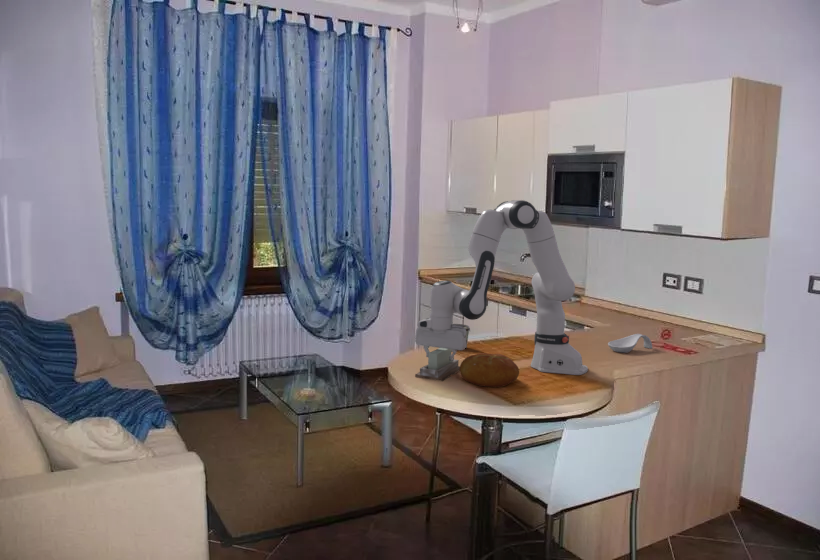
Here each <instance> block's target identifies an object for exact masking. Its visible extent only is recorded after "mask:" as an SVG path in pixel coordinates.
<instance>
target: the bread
mask: <svg viewBox="0 0 820 560" xmlns="http://www.w3.org/2000/svg"><path fill="white" fill-rule="evenodd" d="M459 366H460V371H459V373H460V376H461V378H462V379H463V380H465V381H466V382H468V383H470V384H473V385H477V386H480V387H489V388H491V387H493V388H495V387H496V388H499V387H505V386H508V385H509V384H510V383H513V382H515V381H516V380H517V379H518V377H519V376H520V369H519V366H518V365H517V364H516V362H514V361H513V359H511V358H509V357H508V356H506V355H503V354H501V353H487V352H486V353H482V352H481V353H476V354H473V355H470V356H467V357H466V358H464V359H463V360H462V361H461V363H460V365H459Z"/></svg>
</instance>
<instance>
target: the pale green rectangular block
mask: <svg viewBox="0 0 820 560" xmlns="http://www.w3.org/2000/svg"><path fill="white" fill-rule="evenodd" d="M429 352H430V353H429V354H428V357H427V358H428V361H427V363H428V364H427V365H428V369H433V370H437V369H439V368H441V367H443V366H445V365H447V364H449V363H450V362H451V361H450V360H449V356H450V355H452V353H453V352H452V349H446V348H438V347H437V348H436V349H434V350H431V351H429Z"/></svg>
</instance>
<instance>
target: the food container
mask: <svg viewBox="0 0 820 560" xmlns="http://www.w3.org/2000/svg"><path fill="white" fill-rule="evenodd" d="M453 325H458V326H463V327H464V328H465V329H466V349H467V347H468V339H469V333H470V332H471V328H470V326H469V325H467V324H463V323H462V324H461V323H453ZM464 328H463V329H464Z"/></svg>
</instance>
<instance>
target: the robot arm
mask: <svg viewBox="0 0 820 560" xmlns="http://www.w3.org/2000/svg"><path fill="white" fill-rule="evenodd" d="M506 229H510V230H517V229H521V230H522V231H523V232H524V235H525V239H526V242H527V247H528V250H529V254H530V259H531V262H532V263H533V265H534V266H535V268H536V270H537V272H535V273H534V275H533V276H532V278H531V287H532V289H533V293H534V299H535V307H536V330H535V332H534V341H533V342H534V351H533V357H532V359H531V362H530V367H531V368H533V369H536V370H538V371H539V372H541V373H551V374H561V375H562V374H563V375H564V374H565V375H573V376H574V375H575V376H580V375H584V374H586V373H587V372H588V371H589V370H588V369H589V367H588V366H587V365H583V359H582V358H583V357H582V354H581V353H580V352H579V351H578V350H577V349H575V347H574V346H572V345H571V344H570V343H569V342H570V334H566V333H565V323H566V313H565V310H564V307H563V304H562V301H568V300H570V299H571V298H572V297H573V296H574V295H575V292H576V285H575V282H574V280H573V279H572V278H571V276H570V275H569V272H568V270H567V268H566V265H565V263H564V261H563V259H562V257H561V254H560V249H559V246H558V241H557V239H556V234H555V231H554V228H553V224H552V222H551V220H550V218H549V216H548V214H547V213H546V212H544V211H543V210H537V209H536V208H535V206H534V205H533V204H532V203H531V202H529V201H527V200H524V199H523V200H522V199H521V200H519V199H516V200H515V199H513V200H507V201H506V200H505V201H503V202H500V203H499V204H498V205H497V206H496V207H495V208H494V209H485V210H484V211H482V212H481V213H480V216H479V217H478V219H477V220H476V223H475V224H474V227H473V229H472V232H471V235H470V238H469V240H468V241H469V242H468V247H467V248H468V249H467V250H468V252H469V255H470V256H471V258H472V259H473V261H474V264H475V271H474V274H473V279H472V283H471V285H470V289H469V290H468V289H466V288H462V287H460V286H458V285H457V284H455V283H453V282H452V281H451V280H440V281H436V282H435V283H433V284H432V287H431V289H430V290H431V291H430V299H429V300H430V301H429V306H430V312H429V317H427V318H424V319H421V320H419V321H418V322H417V328H416V330H415V337H414V338H415V339H414V342H415V344H416V345H418V346H423V350H424V351H425V355H426V356H425V357H426V358H428V354H429V353H430V352H431V351H430V349H429V348H430V347H431V348H437V349H438V348H446V349H452V353H451V355H450V356H449V360H450V361H453V360H454V359H455V356H456V354H457V353H458V351H463V350H464V351H465V350H466V349H467V348H466V329H465V328H464V327H463V326H458V325H453V324H454V323H453V322H454V321H453V320H454V319H453V318H454V314H459V315H461V316H463V317H464V318H466V319H467V320H471V321H475V320H478V319H480V318H481V317H482V316H484V314H485V313H486V311H487V308H488V305H487V304H488V300H487V298H488V292H489V286H490V283H491V279H492V275H493V272H494V266H495V262H496V261H495V260H496V254H497V250H498V248H499V244H500V241H501V238H502V235H503V233H504V232H505V230H506ZM463 328H464V329H463ZM465 348H466V349H465Z"/></svg>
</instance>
